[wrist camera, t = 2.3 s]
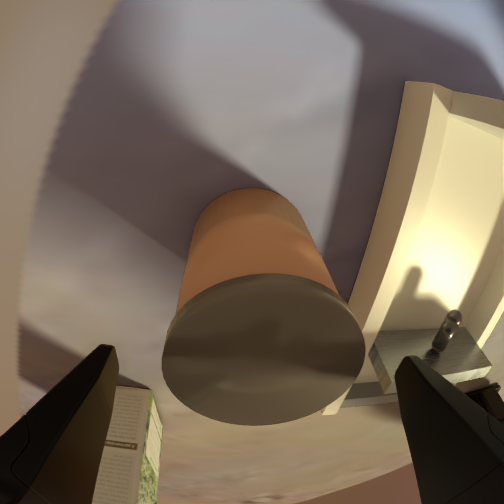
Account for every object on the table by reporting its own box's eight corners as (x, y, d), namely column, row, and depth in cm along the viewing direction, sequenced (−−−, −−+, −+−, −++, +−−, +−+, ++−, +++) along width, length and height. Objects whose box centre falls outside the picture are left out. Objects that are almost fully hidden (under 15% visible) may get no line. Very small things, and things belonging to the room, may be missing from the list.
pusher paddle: (458, 337, 19) (484, 376, 16) (362, 342, 18) (384, 394, 15) (483, 291, 17) (516, 329, 14) (385, 288, 16) (416, 339, 13)
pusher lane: (434, 376, 23) (462, 430, 17) (315, 387, 22) (332, 458, 16) (535, 142, 13) (604, 174, 8) (405, 80, 12) (493, 91, 7)
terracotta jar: (297, 295, 17) (332, 422, 10) (188, 287, 17) (168, 420, 10) (320, 192, 15) (395, 297, 8) (192, 179, 14) (155, 282, 7)
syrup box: (81, 379, 20) (34, 555, 8) (155, 387, 21) (133, 585, 8) (102, 419, 23) (74, 568, 10) (167, 426, 23) (156, 587, 11)
